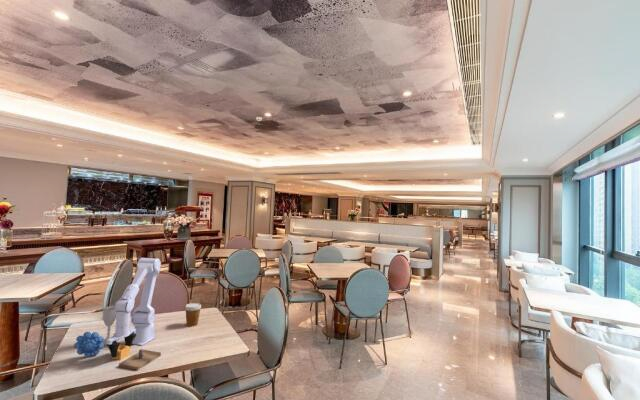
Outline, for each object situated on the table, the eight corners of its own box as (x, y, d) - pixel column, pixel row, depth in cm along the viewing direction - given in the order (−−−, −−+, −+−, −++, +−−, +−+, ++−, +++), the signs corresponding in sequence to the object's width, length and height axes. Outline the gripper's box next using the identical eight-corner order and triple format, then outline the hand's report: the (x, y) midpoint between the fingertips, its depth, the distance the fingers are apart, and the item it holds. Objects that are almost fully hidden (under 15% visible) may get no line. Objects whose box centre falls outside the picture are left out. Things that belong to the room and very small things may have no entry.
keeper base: (143, 352, 147) (143, 341, 147) (160, 355, 145) (161, 344, 145) (118, 367, 134) (119, 354, 134) (137, 370, 132) (138, 358, 132)
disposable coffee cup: (184, 322, 187) (185, 303, 188) (201, 321, 190) (202, 302, 191) (182, 328, 178) (183, 308, 179) (199, 327, 181) (200, 307, 182)
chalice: (107, 346, 152) (109, 311, 152) (96, 344, 153) (98, 309, 154) (119, 340, 159) (121, 306, 160) (108, 338, 160) (111, 305, 161)
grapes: (71, 364, 134) (73, 337, 135) (73, 357, 140) (74, 331, 140) (103, 357, 141) (105, 332, 141) (103, 351, 147) (105, 327, 147)
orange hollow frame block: (120, 353, 146) (121, 344, 146) (129, 354, 145) (130, 346, 145) (111, 358, 141) (111, 349, 141) (120, 359, 140) (121, 351, 140)
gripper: (128, 318, 151) (126, 345, 151) (102, 329, 137) (100, 359, 136) (140, 320, 150) (138, 347, 149) (115, 331, 136) (112, 361, 135)
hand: (120, 353), depth 143 cm, fingers open, 7 cm apart
